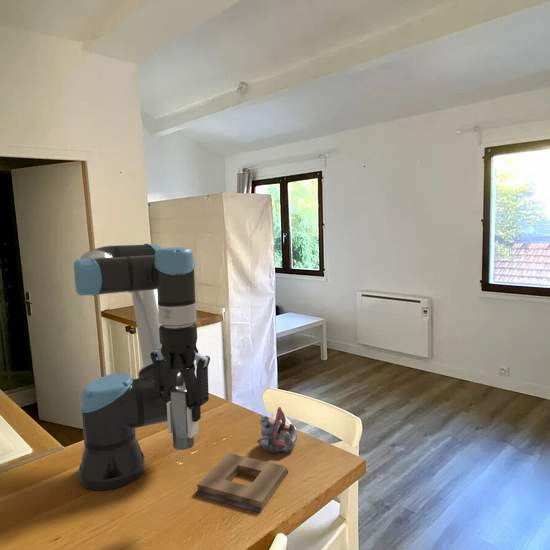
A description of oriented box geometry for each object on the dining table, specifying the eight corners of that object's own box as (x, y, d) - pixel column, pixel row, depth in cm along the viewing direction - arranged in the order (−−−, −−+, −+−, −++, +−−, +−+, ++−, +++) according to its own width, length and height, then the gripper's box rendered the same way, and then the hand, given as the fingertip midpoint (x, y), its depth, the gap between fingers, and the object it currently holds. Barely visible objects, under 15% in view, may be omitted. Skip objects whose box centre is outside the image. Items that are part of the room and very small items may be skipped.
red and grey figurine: (299, 451, 109) (271, 412, 110) (267, 471, 112) (239, 433, 113) (308, 430, 120) (282, 395, 121) (278, 448, 123) (253, 414, 124)
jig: (195, 494, 97) (195, 486, 97) (230, 458, 111) (230, 451, 111) (260, 513, 90) (260, 504, 90) (288, 472, 104) (288, 464, 104)
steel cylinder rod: (168, 447, 90) (165, 392, 89) (181, 437, 94) (179, 384, 93) (186, 451, 88) (183, 395, 87) (198, 441, 92) (196, 387, 91)
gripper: (131, 324, 88) (138, 432, 91) (203, 332, 81) (208, 449, 84) (156, 316, 95) (162, 417, 98) (224, 323, 88) (228, 432, 91)
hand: (183, 432), depth 91 cm, fingers closed on steel cylinder rod, 4 cm apart
